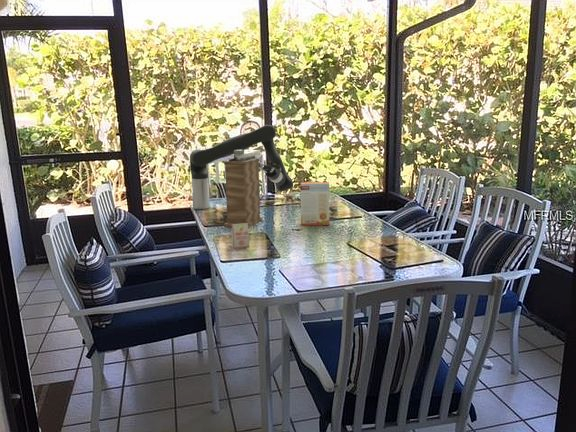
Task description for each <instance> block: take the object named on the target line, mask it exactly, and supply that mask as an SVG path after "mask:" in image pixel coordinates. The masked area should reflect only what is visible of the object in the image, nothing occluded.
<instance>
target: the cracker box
mask: <svg viewBox="0 0 576 432" xmlns="http://www.w3.org/2000/svg"><path fill="white" fill-rule="evenodd" d="M300 225H301V226H329V225H330V182H329V181H328V182H325V181H324V182H321V181H320V182H319V181H314V182H313V181H305V182H304V181H302V182H301V183H300Z"/></svg>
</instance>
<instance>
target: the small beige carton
mask: <svg viewBox="0 0 576 432" xmlns="http://www.w3.org/2000/svg"><path fill="white" fill-rule="evenodd" d="M230 232H231V235H230V236H231V247H232V249H239V248H238V247H244V248H250V234H249V228H248V223H242V224H232V227H231V231H230Z"/></svg>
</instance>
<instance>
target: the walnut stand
mask: <svg viewBox="0 0 576 432" xmlns="http://www.w3.org/2000/svg"><path fill="white" fill-rule="evenodd" d="M259 163H260V158H258V157H255V156H250V157H246V158H242V159H238V161H234V157H232V158H228V160H225V161H224V162H223V164H224V167H225V169H224V170H225V172H224V173H225V195H226V197H225V198H226V222H225V223H224V227H226V228H232V224H242V223H248V229H249V228H250V227H253V226H255V225H256V224H259V223H260V222H262V221H263V220H264V219H263V217H261V213H260V212H261V209H260V208H261V207H260V205H261V204H260V197H261V196H260V172H259V166H260V165H259Z"/></svg>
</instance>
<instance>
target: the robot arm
mask: <svg viewBox="0 0 576 432" xmlns="http://www.w3.org/2000/svg"><path fill="white" fill-rule="evenodd" d="M276 134H277V131H276V128H275V127H274V126H273V125H272V124H271V125H270V124H265V125H263V126H260V127H259V128H257V129H255V130H252V131H250V132H246V133H243V134H238V135H235V136H232V137H229V138H227V139H225V140H222V141H221V142H219V143H218V144H216V145H214V146H212V147H209V148H206V149H194V150H193V151H192V152H191V153H190V156H189V166H190V174H191V186H192V187H191V189H192V192H191V195H192V196H191V197H192V209H193V210H194V209H196V210H205V209H209V208H210V207H211V206H210V189H209V188H210V187H209V186H210V185H209V173H208V169H207V168H208V167H207V165H209V164H210V163H212V162H215V161H217V160H220V159H223V158H226V157H230V156H234V150H244V151H245V150H248V149H249V148H251V147H252V146H254V145H256V144H259V143H261V145H262V146H263V149H264V150H265V152H266V154H267V157H268V160H269V163H268V164H264V163H260V162H259V173H260V172H261V171H263V172H264V175H265V176H266V177H267V178H268V180H270V181H271V182H273V184H274V185H275V190H276V191H277V192H280V193H283V192H284V191H287V190H291V189H292V188H293V187H294V181H293V179H292V178H291V177H290V175H289V174H288V172H287V170H286V168H285V165H284V162H283V159H282V157H281V155H280V153H279V151H278V150H277V148H276V145H275V142H274V138H275V137H276Z"/></svg>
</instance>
